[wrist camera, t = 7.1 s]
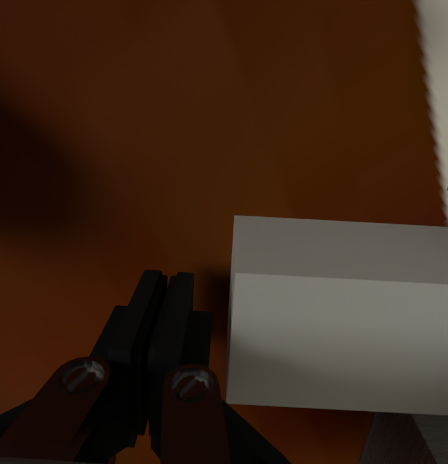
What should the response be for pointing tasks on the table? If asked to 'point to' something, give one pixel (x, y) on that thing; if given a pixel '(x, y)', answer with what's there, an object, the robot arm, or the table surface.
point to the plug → (338, 315)
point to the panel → (406, 439)
